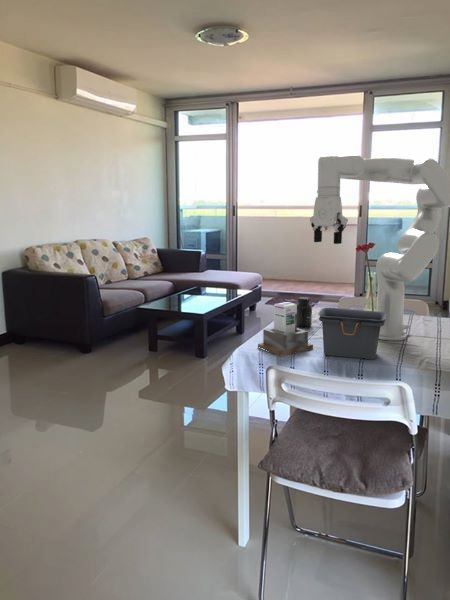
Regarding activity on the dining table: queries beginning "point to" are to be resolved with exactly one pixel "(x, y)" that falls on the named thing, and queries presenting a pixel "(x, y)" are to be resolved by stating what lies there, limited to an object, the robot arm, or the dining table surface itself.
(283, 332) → the syrup box
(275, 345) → the post base
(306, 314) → the supplement bottle
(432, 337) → the dining table surface
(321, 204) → the robot arm
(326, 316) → the storage bin
